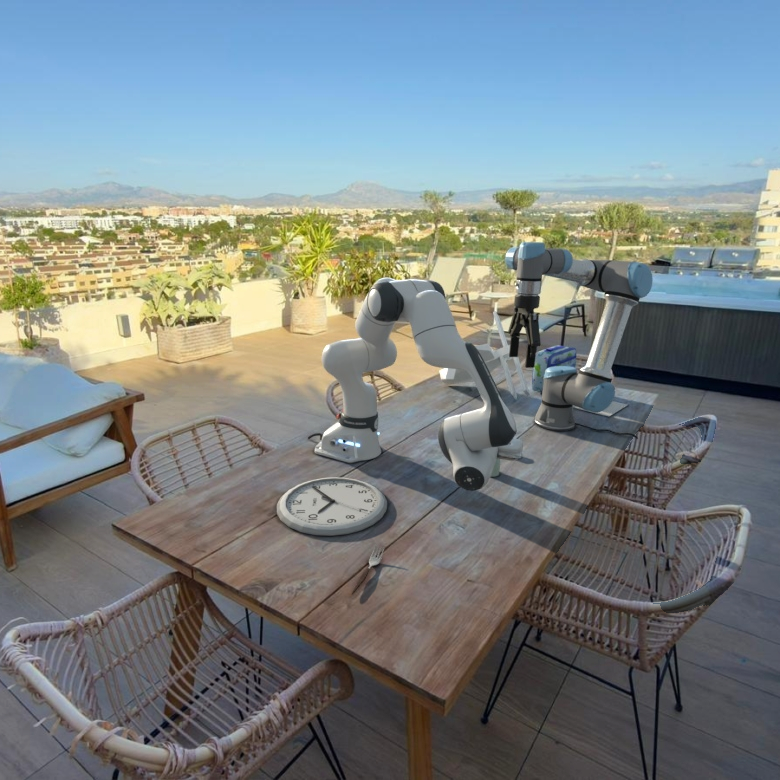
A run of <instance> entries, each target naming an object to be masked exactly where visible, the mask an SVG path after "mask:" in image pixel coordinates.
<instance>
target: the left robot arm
mask: <svg viewBox="0 0 780 780" xmlns="http://www.w3.org/2000/svg"><path fill="white" fill-rule="evenodd" d="M401 322H402V323H405V322H407V323H408V322H409V325H410V328H411V333H412V336H413V340H414V341H413V342H414V345H415V348H416V351H417V353H418V356H419V358H420V359H421V360H422V361H423V362H425V364H427V365H429V366H431V367H435V368H440V369H444V368H452V369H461V370H465V371H467V372H468V373H469V374H470V375H471V377H472V379H473V381H474V382H473V384H474V385H475V387H476V389H477V391H478V393H479V395H480V398H481V400H482V401H483V406H482V407H480V408H477V409H474V410H470V411H467V412H462V413H458V414H455V415H451V416H448V417H445V418H444V419H443V420H442V422H441V423H440V426H439V430H438V433H437V434H438V435H437V439H438V444H439V447H440V450H441V452H442V454H443V456H444V457H445V458H446V459H447V460H448V462H449V463H451V464H452V477H453V480H454V482H455V484H456V485H457V486H458V487H459V488H460V489H462V490H463V491H464V490H465V491H469V492H475V491H479V490H481V489H482V488H484V487H485V486H486V485H487V484H488V482H489V481H490V480H491V479H490V478H491V474H492V471H493V467H494V465H495V462H496V459H497V458H498V459H500V460H504V461H512V462H514V461H518V459H522V457H523V447H524V441H523V440H522V439H519V438H514V437H515V436H516V434H517V430H518V429H517V423H516V420H515V418H514V415H513V413H512V412H511V411H510V409H509V407H508V406H507V404H506V402H505V400H504V399H503V396H502V394H501V393H500V390H499V388H498V387H497V384H496V383H495V381H494V378H493V376H492V374H491V372H489V370H488V368H487V366H486V364H485V362H484V360H483V358H482V356H481V355H480V353H479V351H478V350H477V348H476V347H475V346H476V345H474V344H473V343H472V342H467V341H466V340H464V339H463V337H462V336H461V335H460V333H459V331H458V328H457V325H456V322H455V319H454V315H453V312H452V311H451V308H450V305H449V304H448V302H447V300H446V293H445V290H444V288H443V286H442V285H441V283H439V282H437V281H436V280H435V281H434V280H432V279H431V280H430V279H423V280H422V279H413V278H412V279H408V278H407V279H406V278H405V279H402V280H401V279H400V280H396V279H394V278H391V277H382V278H379V279H377V280H376V281H375V282H374V283H373V285H372V286H371V287H370V289H369V291H368V293H367V294H366V296H365V298H364V300H363V302H362V304H361V307H360V310H359V312H358V315H357V317H356V320H355V322H354V325H355V326H354V328H355V331H356V334H357V335H358V336H359V337H358V338H350V339H341V340H337V341H334V342H331V343H329V344H326V346H325V347H324V348H323V350H322V352H321V364H322V366H323V369H324V370H325V371H326V372H327V373H328V374H329V375H330V376H332V377H333V378H334V379H335V380H336V382H338V384H339V386H340V389H341V393H342V406H343V407H342V409H341V410H340V412H338V414H337V415H336V420H338V421H337V422H335V423H334V424H332V425H331V426H330V427H328V428H327V429H326V430H324V431H323V432H315V433H313V434H310V435H308V436H307V440H310V439H312V438H314V437H316V436H317V437H318V436H319V442H318V443H317V444H316V445H315V447H314V454H316V455H320V456H322V457H326V458H330V459H332V460H333V459H334V460H337V461H340V462H344V463H347V464H353V463H357V462H361V461H368V460H372V459H375V458H377V457H379V456H380V455H381V454H382V448H381V445H380V440H379V435H380V432H378V429H379V412H378V392H377V389H376V388H375V387H374V385H372V384H371V383H368V382H367V381H365V380H364V378H363V374H364V373H369V372H374V371H375V372H376V371H381V370H384V369H387V368H389V367H391V366H393V365H394V364H395V363H396V360H397V356H398V349H397V346H396V344H395V342H394V341H393V340H392V339H391V338H390V337H391V333H392V331H393V329H394V327H395V325H396V323H401Z"/></svg>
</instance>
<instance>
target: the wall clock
mask: <svg viewBox="0 0 780 780" xmlns="http://www.w3.org/2000/svg"><path fill="white" fill-rule="evenodd" d="M387 509H388V500H387V498H386V496H385V494H384V493H383V492H382V491H381V490H380V489H379V488H377V487H376V486H374V485H372V484H371V483H369V482H365V481H362V480H359V479H355V478H349V477H338V476H337V477H335V476H333V477H332V476H331V477H322V478H317V479H312V480H307V481H305V482H302V483H299V484H297V485H295V486H293V487H292V488H290V489H288V490H287V491H286V492H285V493H284V494H283V495H281V496H280V498H279V499H278V502H277V503H276V515H277V517H278V518H279V520H280V521H281V522H282V523H283V524H285V525H286V526H287V527H288V528H290V529H293V530H295V531H297V532H299V533H303V534H308V535H312V536H327V537H328V536H329V537H331V536H332V537H333V536H342V535H350V534H352V533H356V532H361V531H363V530H366V529H368V528H369V527H372V526H373V525H375V524H376V523H378V522H379V521H380V520H381V519H382V518H383V517H384V516H385V514H386V512H387Z"/></svg>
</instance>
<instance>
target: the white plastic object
mask: <svg viewBox="0 0 780 780" xmlns="http://www.w3.org/2000/svg"><path fill="white" fill-rule="evenodd" d="M492 315H493V319H494V321H495V324H496V325H495V326H496V328H497V332H498V335H499V338H500V342H501V345H502V347H500V348H498V349H496V350H495V349H493V348H492V347H491V346H490V344H489V343H488V342H487V343H483V344H479V345H474V346H475V347H476V348H477V350H478V351H479V353H480V355H481V356H482V358H483V360H484V362H485V364H486V366H487V368H488V370H489V372H490V373H492V372H494V371H495V370H496V369H497V368H499V367H500V366H502V370H503V373H504V376H505V380H506V383H507V386H508V390H509V393H510V394H511V395H512V397H513V398H514V399H515V400H517V392H516V391H517V390H516V388H515V385H514V381H513V378H512V375H511V371H510V369H509V365H508V361H510V360H513V363H514V366H515V369H516V372H517V376H518V380H519V382H520V385H521V389H522V391H523V393H524V395H525V396H526V397H528V396H531V395H530V390H529V388H528V387H529V386H528V384H527V381H526V378H525V375H524V371H523V369H522V368H523V367H522V366H521V362H520V359H519V356H518V357H509V351H510V344H508V341H507V337H506V334H505V331H504V328H503V325H502V321H501V318H500V315H499V314H498V312H497V311H496V310H495V311H492ZM438 372H439V376H440V381H442V383H443V384H444V385H445V386H449V385H458V384H467V383H468V384H469V383H474V381H473V379H472V377H471V375H470V374H469V373H468V372H467V371H465V370H461V369H452V368H440V370H439V371H438Z"/></svg>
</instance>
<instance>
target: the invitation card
mask: <svg viewBox="0 0 780 780" xmlns="http://www.w3.org/2000/svg"><path fill="white" fill-rule="evenodd" d="M628 406H629V404H627V403H623V402H618V401H614V400H613V401H612V402H611V404H610V405H609V406H608V407H607V408H606V409H605V410H603V411H601V412H592V411H587V410H584V409H582V408H579V407H577V406H574V407H573V409H575V410H581V411H584V412H587V413H593V414H596V415H600V416H604V417H608V418H609V417H611V416H613V415H614V414H616V413H617V412H619V411H621V410H623V409H624V408H626V407H628Z"/></svg>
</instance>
